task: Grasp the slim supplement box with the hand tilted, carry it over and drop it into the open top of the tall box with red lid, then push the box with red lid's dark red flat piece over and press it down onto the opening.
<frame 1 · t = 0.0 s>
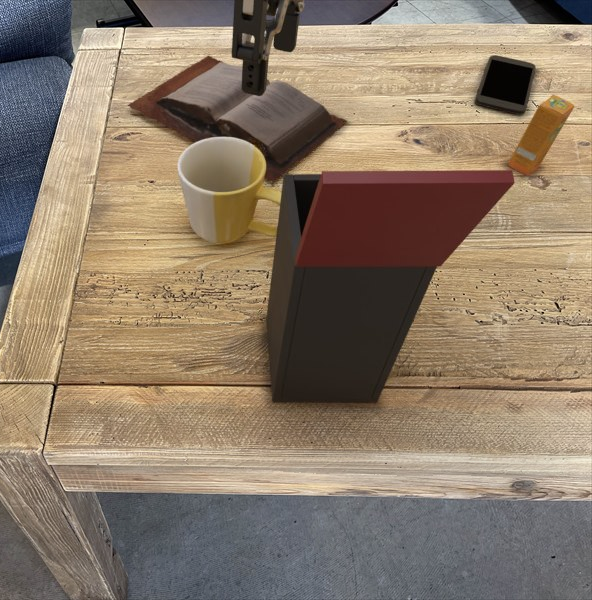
hand: (269, 70, 59), 22 cm above the table, tool pointing down, fingers open, 8 cm apart
box with red lid: (318, 359, 64), on the table
smartphone: (504, 86, 95), on the table
dark red flat piece: (389, 225, 39), point 27 cm above the table, hinge at 108.0°
book: (237, 117, 92), on the table
supplement box: (523, 167, 83), on the table
mug: (230, 235, 76), on the table
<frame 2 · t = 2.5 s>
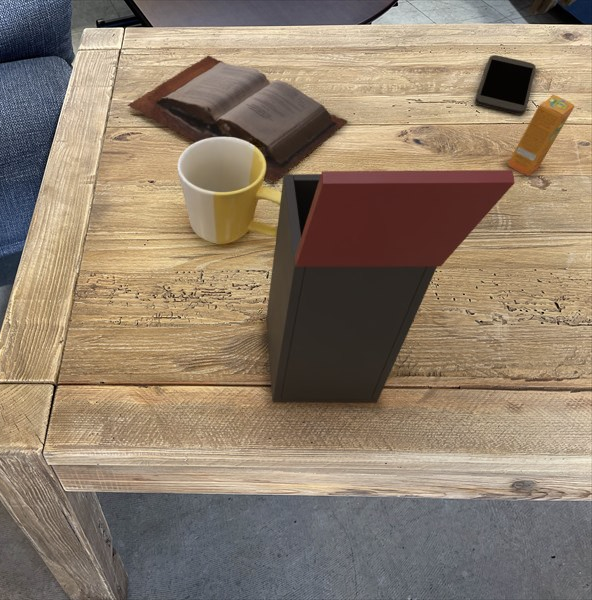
nothing on the table moved.
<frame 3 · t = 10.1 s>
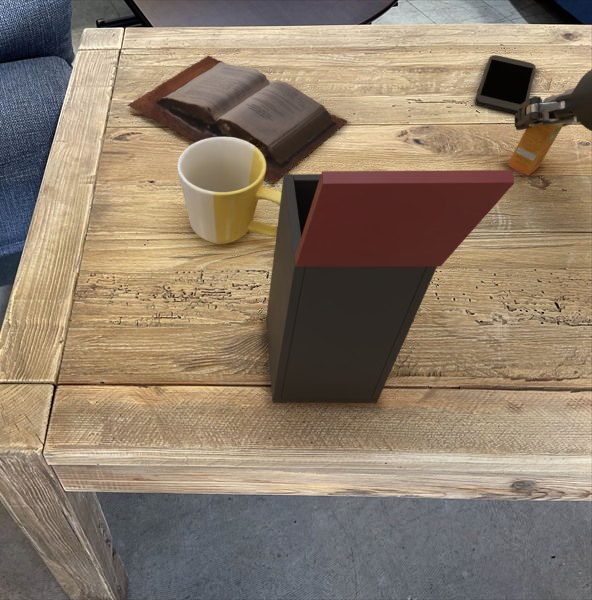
hand: (537, 120, 80), 6 cm above the table, tool tilted 45°, fingers closed on supplement box, 4 cm apart
supplement box: (523, 167, 83), on the table, touching gripper
everything else where it was.
when the fingers open (25 cm above the table, at t = 20.8 s): supplement box drops 18 cm, resting on box with red lid.
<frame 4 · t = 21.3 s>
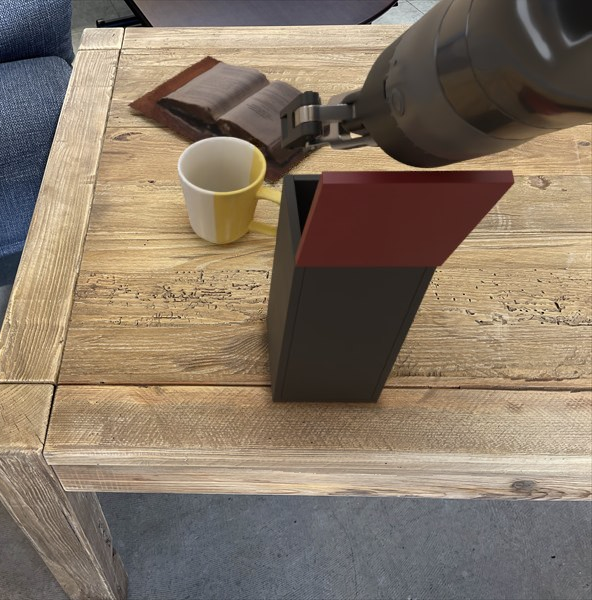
hand: (362, 135, 45), 26 cm above the table, tool tilted 45°, fingers open, 8 cm apart
supplement box: (326, 344, 65), point 1 cm above the table, touching box with red lid
everything else where it was.
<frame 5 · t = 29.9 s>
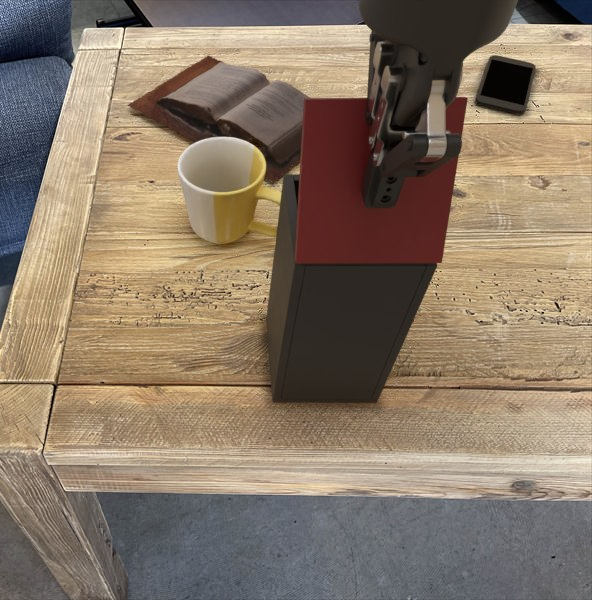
hand: (377, 200, 41), 26 cm above the table, tool pointing down, fingers closed
dark red flat piece: (375, 184, 42), point 26 cm above the table, hinge at 61.4°, touching gripper
everything else where it was.
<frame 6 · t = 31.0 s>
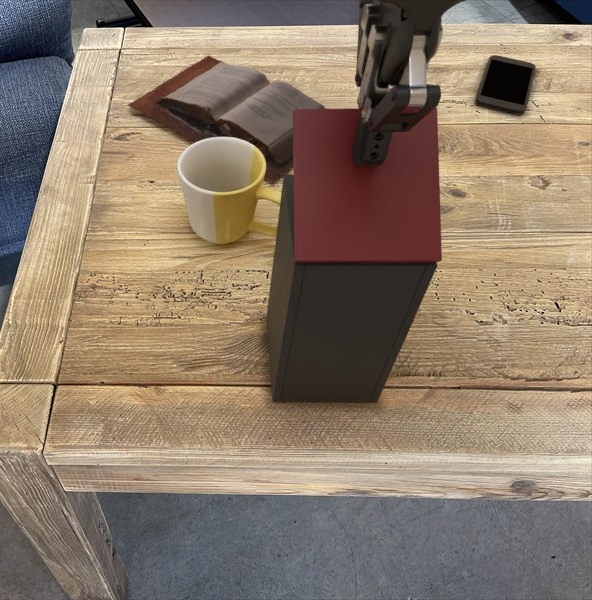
hand: (366, 159, 44), 26 cm above the table, tool pointing down, fingers closed
dark red flat piece: (365, 185, 45), point 24 cm above the table, hinge at 34.0°
everything else where it was.
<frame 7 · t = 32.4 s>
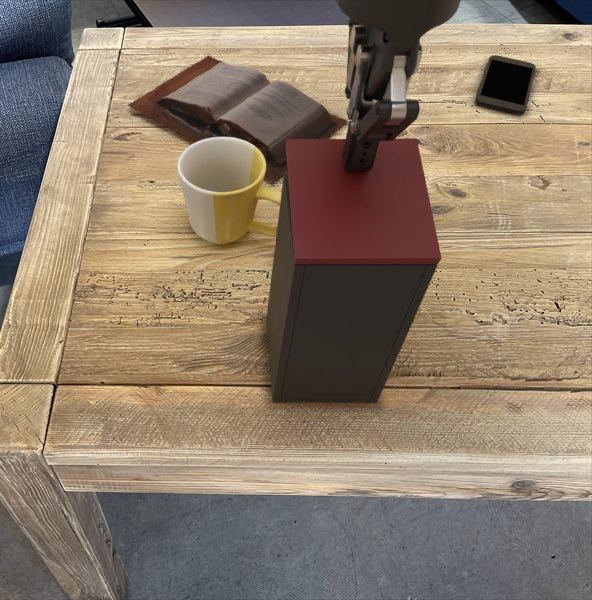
hand: (356, 165, 48), 24 cm above the table, tool pointing down, fingers closed
dark red flat piece: (358, 198, 47), point 22 cm above the table, hinge at 11.3°, touching gripper
everything else where it was.
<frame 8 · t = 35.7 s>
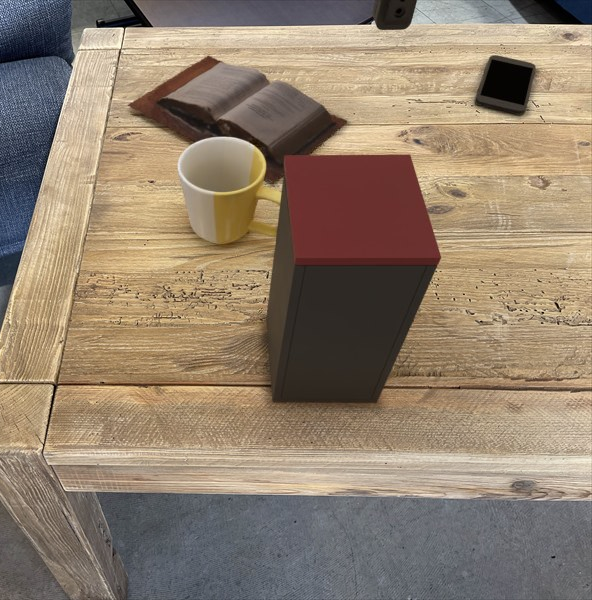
hand: (389, 23, 39), 35 cm above the table, tool pointing down, fingers closed
dark red flat piece: (356, 206, 48), point 21 cm above the table, hinge at 2.0°
everything else where it was.
at the end: supplement box inside the target area in the box with red lid (1.7 cm from its centre), point 0.6 cm above the box with red lid's base; dark red flat piece at +2° (first picture: +108°) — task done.
